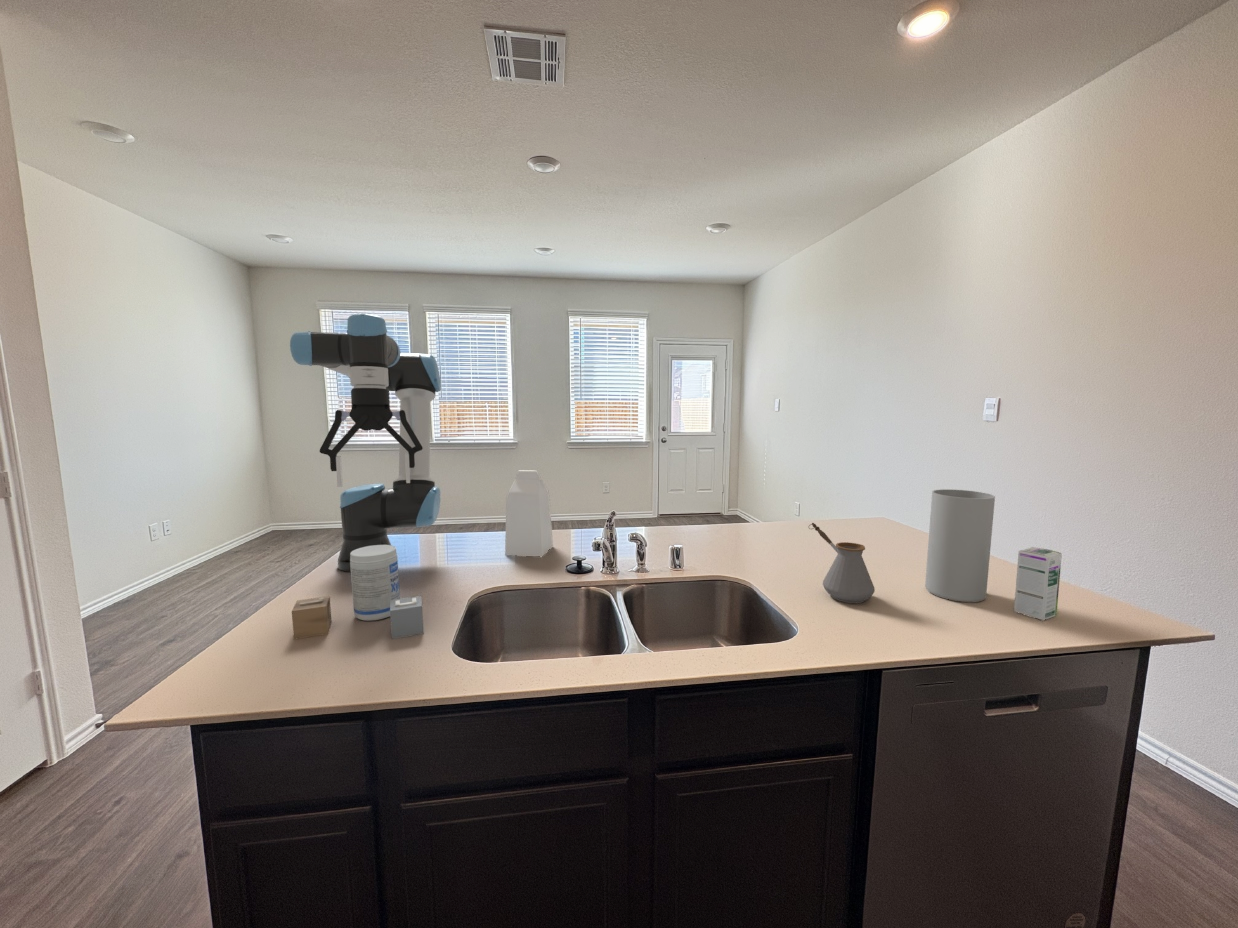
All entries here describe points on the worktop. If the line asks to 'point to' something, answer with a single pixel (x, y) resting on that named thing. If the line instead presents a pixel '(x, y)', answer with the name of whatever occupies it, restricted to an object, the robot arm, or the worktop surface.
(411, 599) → the slate grey marked block
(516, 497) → the milk
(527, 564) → the worktop surface
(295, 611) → the walnut marked block
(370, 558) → the supplement tub
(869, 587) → the coffee pot
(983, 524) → the cylinder vase
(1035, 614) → the syrup box
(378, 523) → the robot arm
